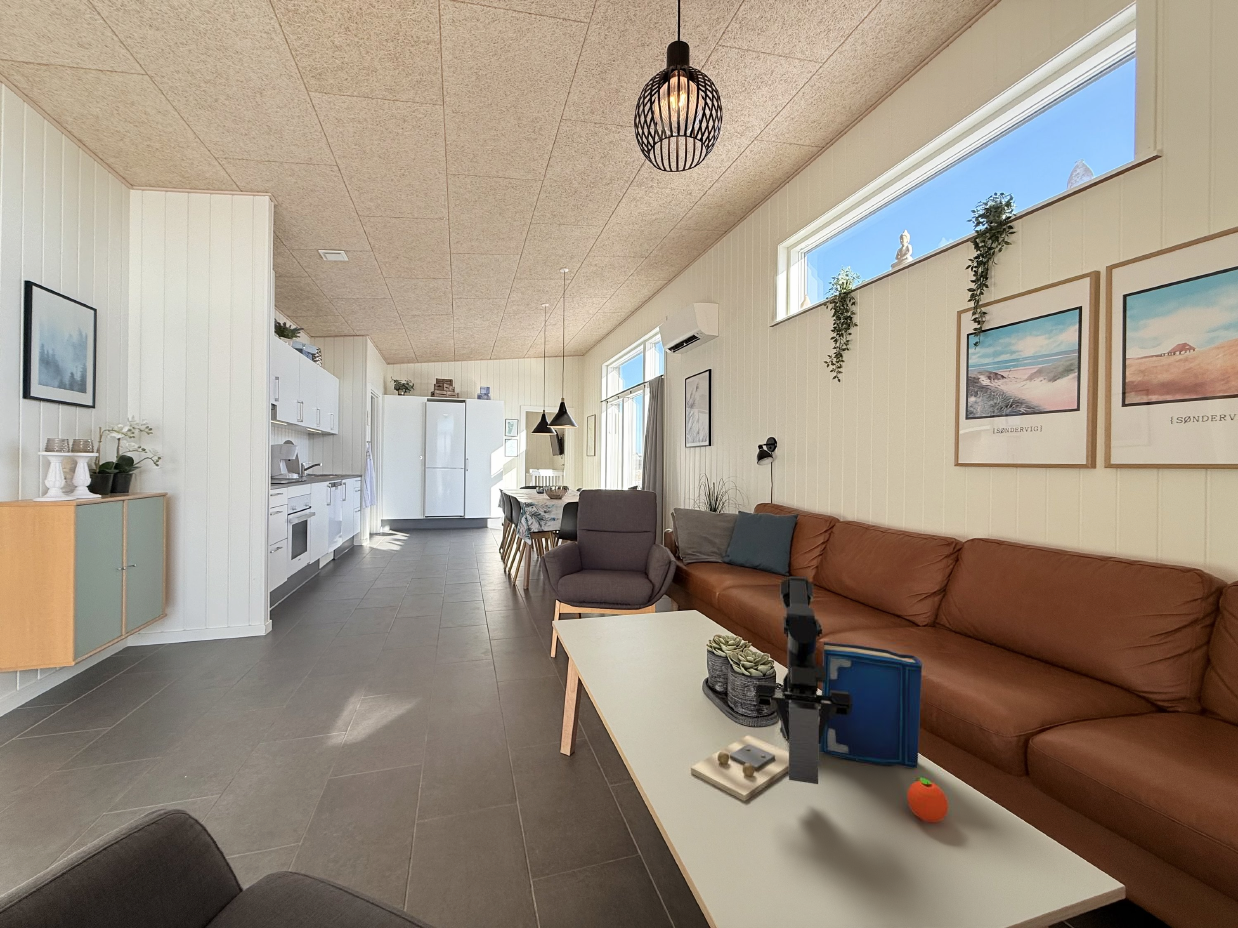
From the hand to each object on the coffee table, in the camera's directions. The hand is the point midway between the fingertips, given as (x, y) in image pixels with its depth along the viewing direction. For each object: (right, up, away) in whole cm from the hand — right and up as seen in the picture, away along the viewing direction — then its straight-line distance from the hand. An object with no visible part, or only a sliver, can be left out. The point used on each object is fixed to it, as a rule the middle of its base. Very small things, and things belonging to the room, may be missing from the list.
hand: (803, 741), depth 110 cm
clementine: (+23, -14, -2) cm, 27 cm away
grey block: (+1, -8, +3) cm, 8 cm away
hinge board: (-8, -13, +15) cm, 22 cm away
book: (+22, -14, +20) cm, 33 cm away
